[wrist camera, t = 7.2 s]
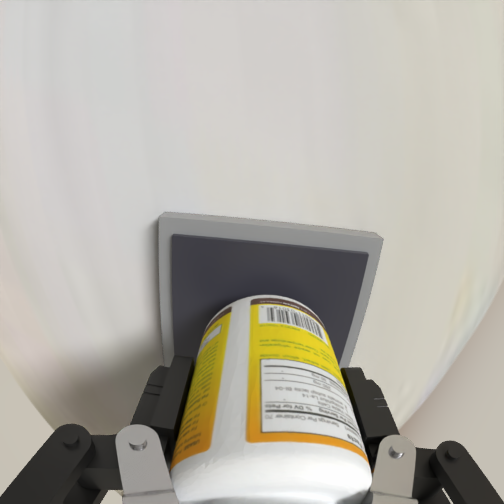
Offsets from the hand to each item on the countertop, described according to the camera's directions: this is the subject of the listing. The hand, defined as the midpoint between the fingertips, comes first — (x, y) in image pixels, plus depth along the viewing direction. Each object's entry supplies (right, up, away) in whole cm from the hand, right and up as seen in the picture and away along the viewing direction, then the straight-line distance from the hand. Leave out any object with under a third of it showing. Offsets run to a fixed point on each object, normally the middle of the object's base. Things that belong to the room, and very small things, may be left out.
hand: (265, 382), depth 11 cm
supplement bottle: (0, +1, +3) cm, 3 cm away
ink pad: (0, +2, +5) cm, 5 cm away
